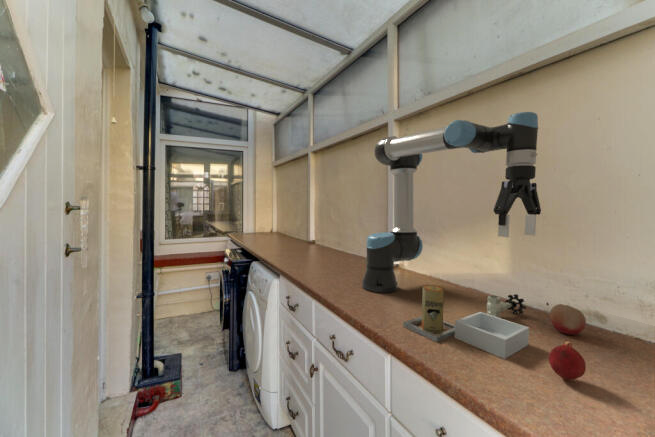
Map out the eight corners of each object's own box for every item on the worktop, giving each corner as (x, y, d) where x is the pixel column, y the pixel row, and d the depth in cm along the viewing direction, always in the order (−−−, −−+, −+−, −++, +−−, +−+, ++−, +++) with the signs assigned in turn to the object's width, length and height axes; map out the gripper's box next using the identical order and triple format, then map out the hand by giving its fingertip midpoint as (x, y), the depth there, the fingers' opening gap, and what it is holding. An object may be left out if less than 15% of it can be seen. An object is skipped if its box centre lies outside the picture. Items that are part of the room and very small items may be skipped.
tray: (454, 337, 76) (455, 320, 76) (479, 326, 83) (480, 311, 83) (504, 359, 66) (505, 339, 66) (528, 344, 73) (529, 327, 73)
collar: (402, 326, 83) (403, 322, 83) (427, 318, 90) (427, 314, 89) (436, 342, 74) (436, 337, 74) (461, 331, 80) (461, 327, 80)
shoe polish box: (421, 324, 85) (422, 285, 84) (439, 326, 84) (440, 286, 83) (423, 331, 80) (425, 290, 79) (442, 333, 79) (443, 291, 78)
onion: (574, 392, 55) (576, 351, 54) (541, 375, 60) (543, 338, 59) (590, 384, 57) (593, 345, 56) (557, 369, 62) (559, 333, 62)
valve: (497, 321, 88) (525, 317, 91) (498, 300, 87) (526, 297, 91) (479, 313, 94) (507, 310, 98) (480, 294, 94) (508, 291, 97)
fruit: (593, 338, 77) (595, 309, 77) (568, 340, 76) (570, 311, 75) (564, 325, 85) (565, 299, 85) (541, 327, 84) (543, 300, 83)
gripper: (507, 161, 77) (504, 239, 78) (556, 167, 88) (553, 235, 89) (482, 164, 83) (478, 236, 84) (530, 170, 94) (527, 233, 96)
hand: (516, 235), depth 87 cm, fingers open, 13 cm apart
